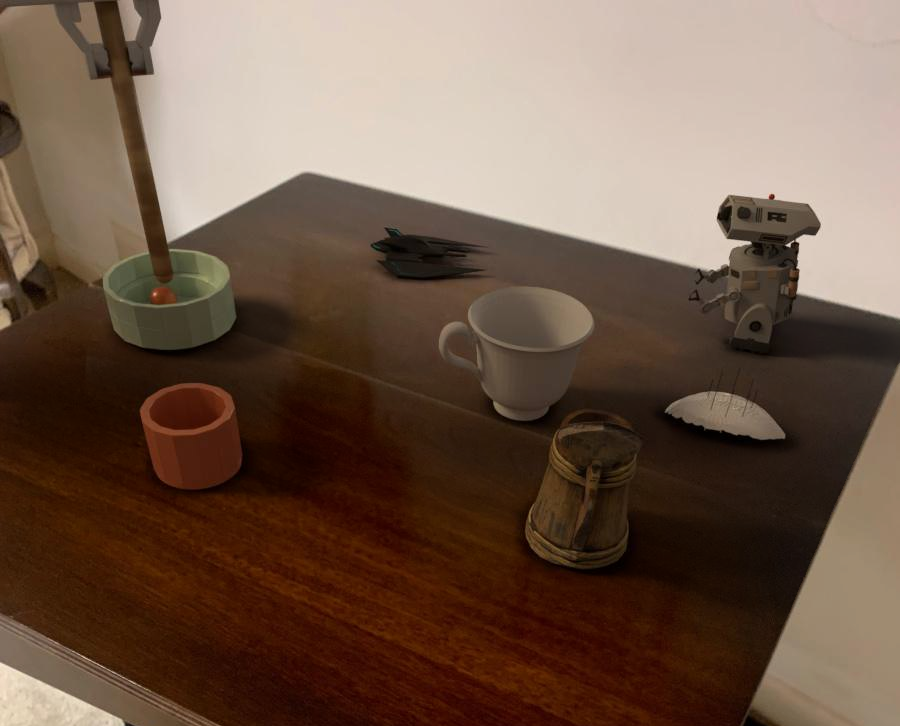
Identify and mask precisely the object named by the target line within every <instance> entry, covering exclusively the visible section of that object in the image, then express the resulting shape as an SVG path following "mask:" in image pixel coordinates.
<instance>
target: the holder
mask: <svg viewBox="0 0 900 726" xmlns="http://www.w3.org/2000/svg"><path fill="white" fill-rule="evenodd" d="M139 413H140V418H141V423H142V427H143V431H144V435H145V439H146V443H147V448H148V452H149V456H150V459H151V464H152V467H153V471H154V472H155V475H156V476H157V478H158V479H159V480H160V481H162V482H163V483H164V484H166V485H167V486H170V487H173V488H177V489H179V490H193V491H194V490H195V491H197V490H204V489H209V488H213V487H217V486H220V485H221V484H224V483H226V482H227V481H229V480H231V479H232V478H233V477H234V476H235V475H237V473H238V471H239V470H240V468H241V466H242V463H243V451H242V444H241V437H240V436H241V435H240V430H239V425H238V419H237V412H236V406H235V403H234V400H233V397H232V395H231V394H230V393H229V392H227V391H226V390H224V389H223V388H221V387H220V386H216V385H211V384H207V383H202V382H188V383H187V382H185V383H183V382H182V383H178V384H174V385H170V386H167V387H164V388H161V389H159V390H158V391H156V392H154V393H153V394H151V395H150V396H148V397H146V399H145V400H144V402H143V404H142V405H141V407H140V408H139Z"/></svg>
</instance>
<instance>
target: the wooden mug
mask: <svg viewBox="0 0 900 726" xmlns="http://www.w3.org/2000/svg"><path fill="white" fill-rule="evenodd" d="M643 437H644V436H642V435H641V434H640V433H638V432H636V430H634V429H633V426H632V424H630V423H629V422H628V421H627V420H626V419H625V418H623V417H621V416H619V415H618V414H616V413H614V412H612V411H609V410H602V409H596V408H581V409H577V410H574V411H572V412H571V413H569V414H568V415H566V416H565V417H563V420H562V421H561V424H560V427H559V429H557V431H556V432H555V434H554V437H553V439H552V442H551V444H550V445H551V446H550V448H549V453H548V458H549V459H548V460H549V461H548V465H547V468H546V471H545V474H544V475H543V479H542V482H541V485H540V488H539V491H538V494H537V495H536V496H537V497H536V500H535V502H534V503H533V504H532V506H531V507H530V509H529V512H528V515H527V518H526V522H525V528H524V533H525V538H526V540H527V542H528V545H529V547H530V549H532V550H533V551H534V553H535V554H536V555H538V556H539V557H540V558H541V559H544V560H546V561H548V562H550V563H552V564H555V565H558V566H561V567H563V568H568V569H576V570H582V571H583V570H586V571H587V570H596V569H600V568H605V567H607V566H609V565H612V564H614V563H616V562H618V561H619V560H620V558H621V557H622V556H623V555H624V553H625V552H626V551H627V547H628V539H629V533H630V532H629V531H630V530H629V520H628V506H629V494H630V483H631V480H632V479H633V478H635V474H636V471H637V454H638V453H639V452H641V450H642V448H643V446H644V438H643Z"/></svg>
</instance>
